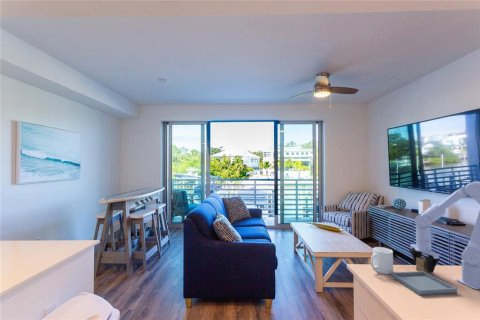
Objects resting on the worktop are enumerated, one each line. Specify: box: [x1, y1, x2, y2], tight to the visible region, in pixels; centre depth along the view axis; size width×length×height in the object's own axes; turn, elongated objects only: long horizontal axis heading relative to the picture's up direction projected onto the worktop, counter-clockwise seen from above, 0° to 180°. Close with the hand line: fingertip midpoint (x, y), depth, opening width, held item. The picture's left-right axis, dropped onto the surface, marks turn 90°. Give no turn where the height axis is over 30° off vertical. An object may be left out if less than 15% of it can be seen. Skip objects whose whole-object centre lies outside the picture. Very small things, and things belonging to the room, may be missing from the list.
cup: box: [370, 246, 394, 275], centre depth 118 cm, size 8×12×10 cm
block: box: [415, 256, 434, 275], centre depth 117 cm, size 4×4×6 cm
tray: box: [390, 270, 458, 297], centre depth 104 cm, size 16×16×2 cm
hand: (424, 268), depth 117 cm, fingers open, 7 cm apart
